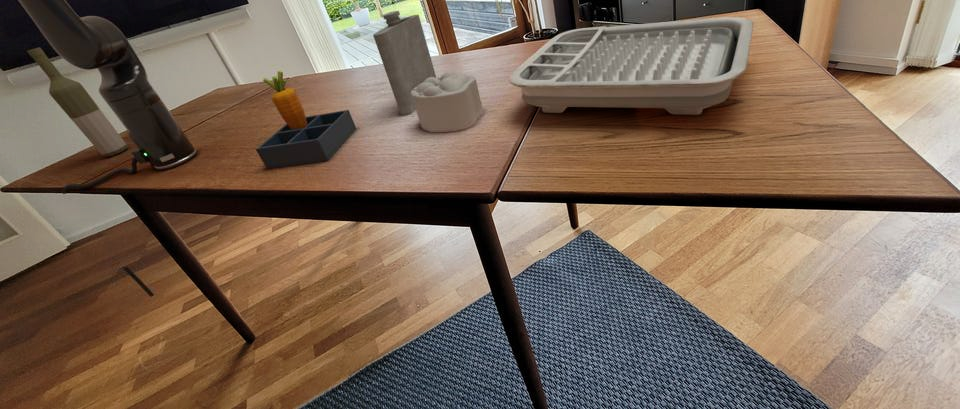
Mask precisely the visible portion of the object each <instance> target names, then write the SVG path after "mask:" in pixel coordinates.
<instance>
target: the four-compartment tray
mask: <svg viewBox="0 0 960 409" xmlns="http://www.w3.org/2000/svg"><path fill="white" fill-rule="evenodd" d="M305 117H306V121H307V126H306V127H305V128H302V129H295V130H291V128H290V127H289V126H288V125H287V123H285V124H284V125H283V126H282V127H281V128H279V129H278V130H277V131H276V132H275V133H273V134H272V135H271V136H270V137H268V138H267V139H266V140H265V141H263V142H262V143H261V144H260V145H259V146H258V147H256V148H255V151H256V153H257V155H258V156H259V158H260V160H261V161H262V163H263V165H264V166H265V168H266V169H267V170H268V169H276V168H283V167H291V166H297V165H298V166H299V165H305V164H313V163H314V164H315V163H319V162H328V161H330V159H331V158H332V157H333V156H334V155H335V154H336V152H337V151H339V149H340V148H341V147H342V146H343V145H344V144H345V143H346V141H347V140H348V139H349V138H350V137H351V136H352V135H353V134H354V132H355V131H356V130H357V127H356V123H355V121H354V119H353V117H352V115H351V112H350V110H349V109H345V110H340V111H334V112H327V113H320V114H315V115H314V114H313V115H309V116H305Z"/></svg>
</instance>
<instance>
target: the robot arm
mask: <svg viewBox="0 0 960 409" xmlns="http://www.w3.org/2000/svg"><path fill="white" fill-rule="evenodd" d="M17 1H18V2H19V3H20V5H21V6H22V7H23V8H24V10H25V12H26V13H27V14H28V16H29V17H30V18H31V20H32V21H33V22H34V24H35V25H36V27H37V28H38V29H39V31H40V33H41V34H42V35H43V36H44V38H45V39H46V41H47V42H48V43H49V45H50V46H51V48H52V49H53V50H54V51H55V53H57V55H59V56H60V57H61V58H62V59H63V60H64V61H66V62H67V63H68V64H70V65H71V66H73V67H76V68H78V69H82V70H88V71H89V70H91V71H92V70H96V69H97V70H98V72H99V74H100V76H101V83H100V85H99V88H98V93H99V95H100V97H101V98H102V99H103V100H104V102H106V104H107V105H108V107H109V108H110V109H111V111H112V113H114V114H115V116H116V117H117V119H118V120H119V121H120V122H121V124H122V125H123V126H124V128H125V130H127V132H128V133H127V136H128V137H129V138H130V140H131V141H132V142H133V144H134V145H135V146H136V149H134V150H133V151H130V153H131V155H132V156H133V158H132V160H131V163H130V166H131V169H130V168H119V169H116V170H113V171H111V172H108V173H107V174H105V175H104V176H102V177H100V178H98V179H96V180H93V181H91V182H88V183H82V184H81V183H79V184H78V183H69V184H66V185H65V186H64V187H63V189H62V195H66V194H68V193H69V191H70V189H90V188H92V187H95V186H97V185H99V184H101V183H103V182H105V181H107V180H109V179H111V178H113V177H115V176H118V175H119V174H122V173H126V174H129V175H134V174H136V173H137V172H138V165H137V163H139V165H140V164H141V165H142V164H147V163H149V164H150V166H151V167H152V169H156V170H157V171H165V170H170V169H172V168H175V167H178V166H180V165H182V164H184V163H187V162H189V161H190V160H192V159H193V158H195V157H196V156H197V154H198V150H197V149H196V148H195V147H194V146H193V144H192V143H191V141H190V140H189V138H188V137H187V135H186V134H185V132H184V131H183V129H182V128H181V127H180V125H179V124H178V122H177V121H176V119H175V118H174V116H173V115H172V113H171V112H170V110H169V109H168V107H167V105H166V104H165V102H164V101H163V100H162V98H161V97H160V96H159V94H158V93H157V91H156V90H155V88H154V87H153V85H152V84H151V82H150V81H149V78H148V73H147V70H146V68H145V66H144V64H143V62H142V60H140V58H139V57H138V54H137V53H136V51H135V50H134V48H133V46H132V45H131V43H130V42H129V40H128V39H127V37H126V36H125V35H124V33H123V32H122V31H121V29H119V27H118V26H116V25H115V24H114V23H113V22H111V21H109V20H108V19H106V18H104V17H102V16H101V17H100V16H97V15H87V16H83V17H82V16H81V17H80V16H79V15H78V14H77V12H75V11H74V9H73V8H72V7H71V6H70V4H69V3H68V2H67V0H17ZM121 268H122V269H123V270H124V272H126V273H127V274H128V275H129V276H130V277H131V279H133V281H134V282H136V283H137V284H138V286H139V287H140V288H142V290H143V291H144V292H145V293H146V295H148V296H149V298H152V297H154V296H155V294H154V293H153V292H152V290H150V288H149V287H148V286H147V285H146V284H145V283H144V282H143V281H142V280H141V279H140V278H139V277H138V276H137V275H136V273H134V272H133V271H132V270H131V269H130V267H128V266H123V267H122V266H121Z"/></svg>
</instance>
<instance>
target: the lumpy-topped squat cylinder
mask: <svg viewBox="0 0 960 409" xmlns="http://www.w3.org/2000/svg"><path fill="white" fill-rule="evenodd" d="M411 96H412V99H413V102H414V105H415V112H416V115H417V118H418V121H419V124H420V127H421V129H423V131H427V132H431V133H447V132H458V131H463V130H466V129H469V128H472V127H473V126H474V125H475V124H476V122H477V120H478V119H479V118H480V117H481V116H482V115H483V114H484V109H483V105H482V100H481V95H480V91H479V87H478V83H477V78H476V77H475V76H473V75H466V74H462V73H460V74H459V73H458V74H456V72H453V71H446V72H444V73H443V74H441V76H440V77H436V78H435V77H429V78H427V79H426V80H425V81H424V82H423V83H421V84H420V85H418V86H417V87H415V88H414V89H413V90H412V91H411Z"/></svg>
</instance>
